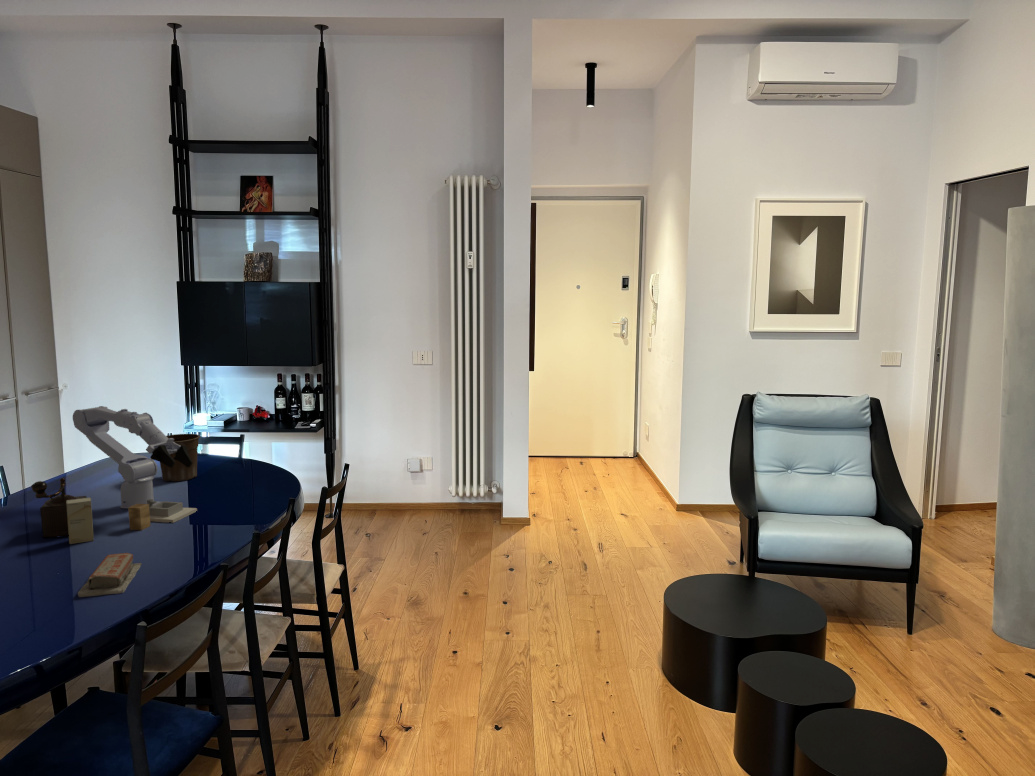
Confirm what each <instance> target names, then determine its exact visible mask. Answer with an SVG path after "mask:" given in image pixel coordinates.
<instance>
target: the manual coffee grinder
mask: <svg viewBox="0 0 1035 776" xmlns="http://www.w3.org/2000/svg"><path fill="white" fill-rule="evenodd" d="M59 482H60V483H59V488H58V490H57V492H55V493H52V494H47V493H46V490H47V488H48V484H47V483H46V482H45V481H41V480H39V481H36V482H34V483H33V484H31V486H30V487H31V490H32V492H34V493H35V496H34V497H35V498H36V499H43V498H44V499H47V500H45V501H44V504H43V505H42V506H41V507H40V508H39V512H40V521H41V531H42V532H41V533H42V538H43V537H53V538H58V537H57V536H64V537H69V536H68V535H69V534H68V519H67V504H66V501H67V500H74V499H82V498H88V497H87V495H80V496H79V495H78V496H74V495H70V494H66V490H65V486H66V479H65V478H64V477H61V478H60V479H59Z"/></svg>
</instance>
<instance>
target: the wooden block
mask: <svg viewBox="0 0 1035 776" xmlns="http://www.w3.org/2000/svg"><path fill="white" fill-rule="evenodd" d="M127 510H128V511H127V512H128V523H129V530H130V531H143V530H146V529H148V528H150V527H151V521H150V512H149V504H135V505H133V506H131V507H128V508H127Z"/></svg>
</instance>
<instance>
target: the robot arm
mask: <svg viewBox="0 0 1035 776" xmlns="http://www.w3.org/2000/svg"><path fill="white" fill-rule="evenodd" d="M72 422H73V425H74V428H76V429H77V430H78V431H79V433H80V432H81V433H82V434H83V435H84V436H85V437H86V439H88V441H89V442H90V443H91V444H92V445H94V446H95V447H96V448H97V449H99V450H100V451H101V452H103V454H105V455H106V456H107V457H109V458H110V459H112V461H114V462H116V463H117V465H118V467H117V472H118V473H119V474H120V475H121V477H122V479H123V480H124V481H123V482H122V483H121V485H120V490H119V491H120V500H121V501H120V502H121V505H120V507H119V508H120V509H128V507H131V506H133V505H135V504H147V500H149V499H153V501H156V500H155V497H154V485H153V480H154V479H155V476H156V475H157V473H158V464H157V462H159V463H160V462H161V463H163V464H165V465H167V466H168V467H170V468H172V467H173V466H174V464H175V463H176V462H175V461H174V460H177V461H179V462H181V463H182V464H184V465H185V466H186V467H190V466H191V465H192V463H193V462H192V460H191V458H190V456H189V454H188V449H187V446H185V445H181V446H180V445H178V444H176V443H174V442H173V441H174V439H173V438H169V439H168V438H167V437H166V436H167V435H166V434H165V433H164V432H162V430H160V429H159V428H158V427H157V426H156V425H155V424H154V419H153V416H152V415H151V414H149V413H148V412H143V413H138V412H137V411H129V410H128V409H127V408H121V410H118V411H116V410H113V409H109V408H108V407H107V406H103V405H100V406H97V407H91V408H83V409H76V410H74V411H73V414H72ZM110 422H113V423H114V425H115V426H116V427H118V428H123V429H127V430H128V433H130V434H134V435H136V436H139V437H140V438H141V439H142V440H143V441H144V443H146V444H147V447H146V449H145V451H146V452H147V453H148V454H151V455H150V457H147V456H145V455H141V454H135V453H134V452H132V451H131V450H129V449H128V448H127V447H126V446H124V445H123V444H121V442H120V441H118V440H116V438H114V437H113V436H111V435H110V434H109V433H108V432H109V431H110ZM172 453H176V454H175V455H176V456H175V457H174V459H173V458H172V457H171V456H170V454H172ZM156 461H157V462H156ZM160 502H161V501H159V500H157V501H156V503H155V504H153V506H154V505H156V504H158V503H160Z"/></svg>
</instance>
